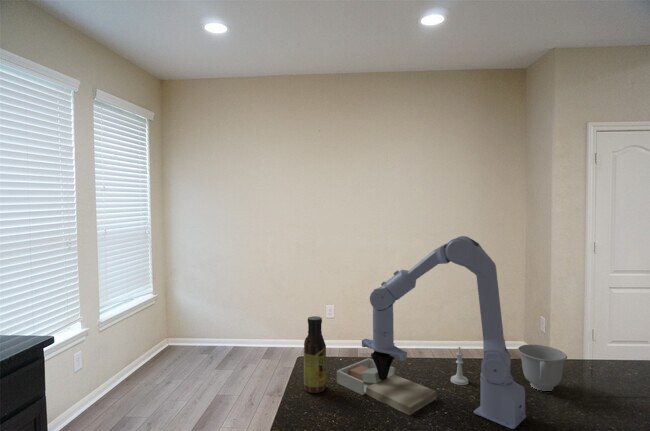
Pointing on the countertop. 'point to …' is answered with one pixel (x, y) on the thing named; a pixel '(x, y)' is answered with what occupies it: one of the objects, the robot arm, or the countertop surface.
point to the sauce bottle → (314, 357)
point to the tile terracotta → (357, 371)
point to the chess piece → (459, 371)
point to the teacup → (542, 366)
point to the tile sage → (371, 376)
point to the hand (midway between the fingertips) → (383, 378)
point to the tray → (353, 382)
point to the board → (401, 394)
